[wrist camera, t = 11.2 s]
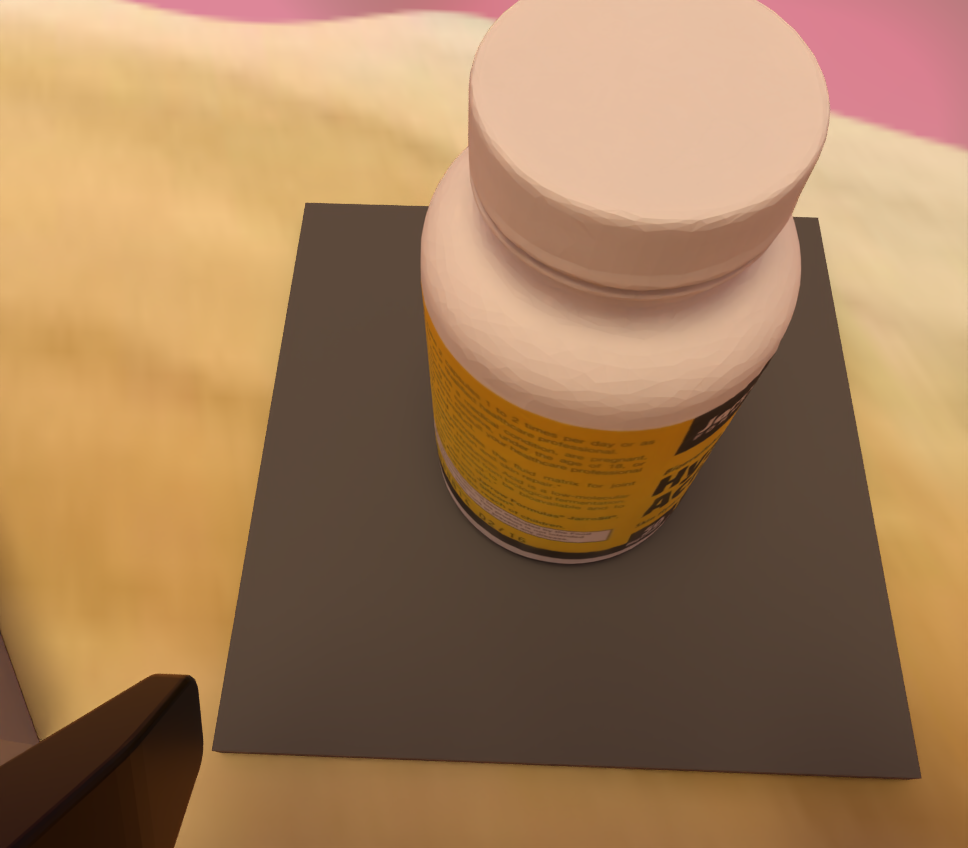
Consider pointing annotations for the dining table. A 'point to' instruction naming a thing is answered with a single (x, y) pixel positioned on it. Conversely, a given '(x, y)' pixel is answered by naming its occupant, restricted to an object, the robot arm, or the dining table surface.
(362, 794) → the dining table surface
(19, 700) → the grey square frame
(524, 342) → the supplement bottle
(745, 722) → the mat
